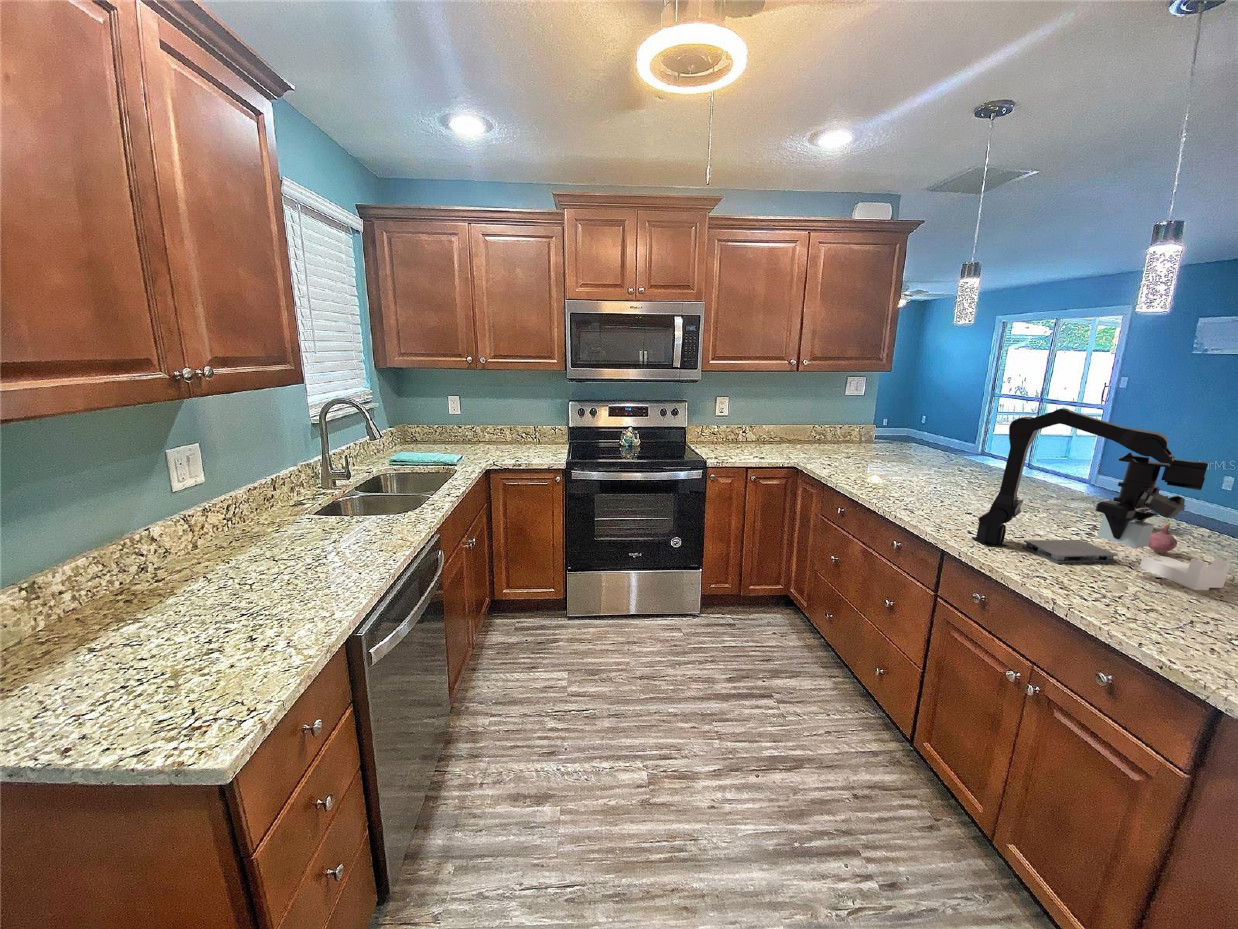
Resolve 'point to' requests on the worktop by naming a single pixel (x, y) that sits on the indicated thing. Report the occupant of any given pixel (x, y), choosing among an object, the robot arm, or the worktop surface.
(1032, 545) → the stand
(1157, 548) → the vegetable
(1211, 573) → the bracket
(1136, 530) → the housing
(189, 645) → the worktop surface
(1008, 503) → the robot arm
